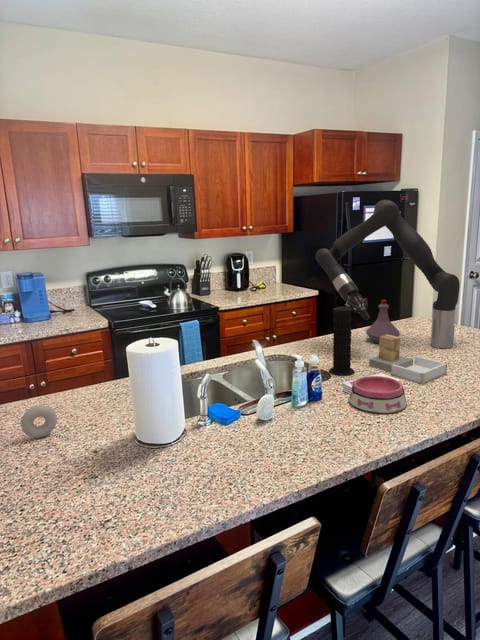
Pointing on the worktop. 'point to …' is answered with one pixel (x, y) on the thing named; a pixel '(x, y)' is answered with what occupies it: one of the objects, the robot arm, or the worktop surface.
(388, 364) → the grey square slab
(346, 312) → the handle grip
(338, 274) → the robot arm
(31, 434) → the donut
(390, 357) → the oak block
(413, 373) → the tray
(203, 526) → the worktop surface
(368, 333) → the flask
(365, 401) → the dog bowl
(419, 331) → the worktop surface
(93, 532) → the worktop surface
